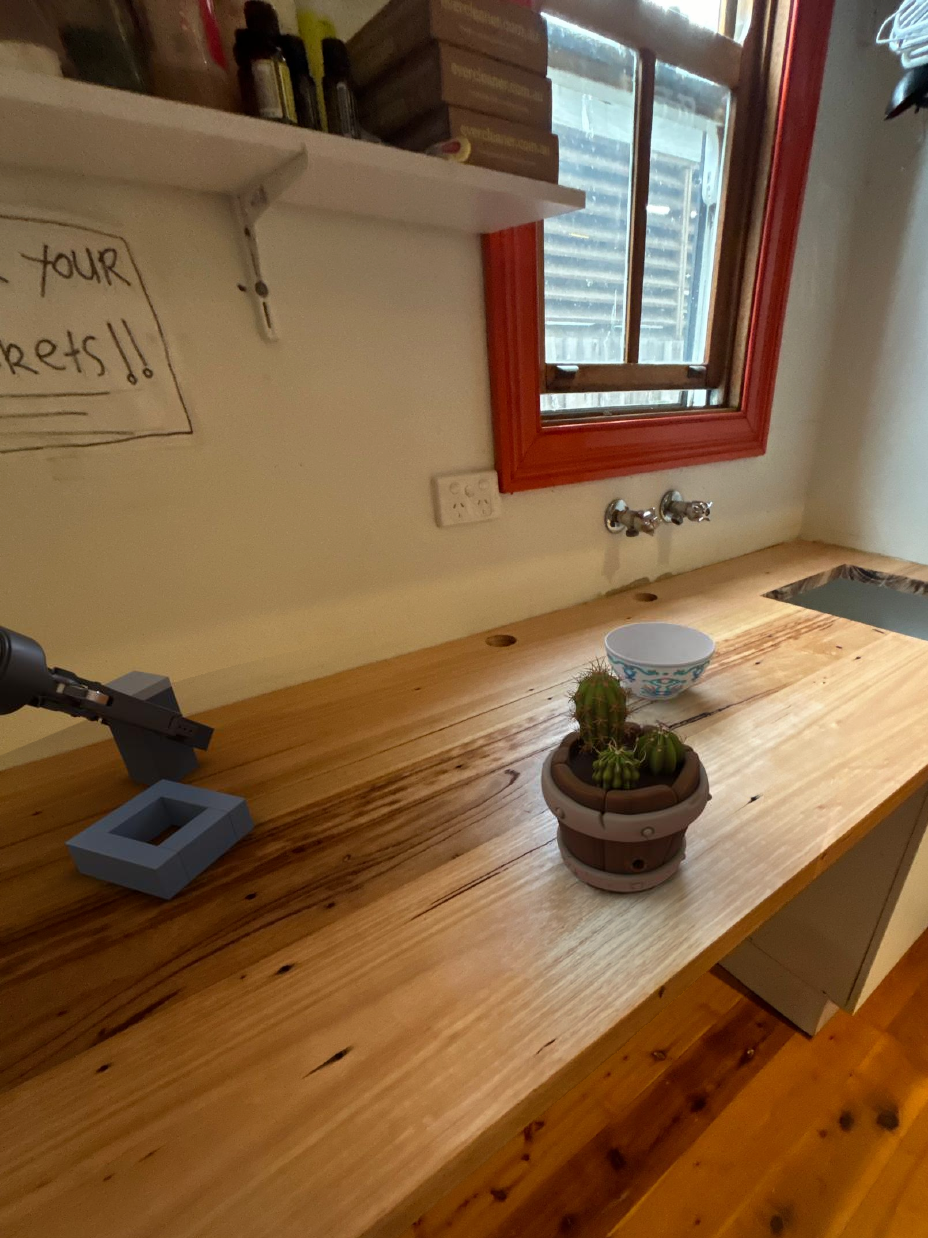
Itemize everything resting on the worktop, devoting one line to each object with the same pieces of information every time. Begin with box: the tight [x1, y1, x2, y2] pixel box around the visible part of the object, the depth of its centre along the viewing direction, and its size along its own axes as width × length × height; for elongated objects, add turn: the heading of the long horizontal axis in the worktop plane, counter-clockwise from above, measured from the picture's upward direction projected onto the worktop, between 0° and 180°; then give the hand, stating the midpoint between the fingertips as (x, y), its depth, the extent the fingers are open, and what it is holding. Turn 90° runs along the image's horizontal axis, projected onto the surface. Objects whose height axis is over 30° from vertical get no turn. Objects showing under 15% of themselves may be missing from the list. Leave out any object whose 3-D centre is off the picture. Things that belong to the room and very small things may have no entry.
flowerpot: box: [540, 654, 713, 895], centre depth 56 cm, size 14×15×20 cm
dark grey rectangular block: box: [103, 670, 201, 787], centre depth 71 cm, size 5×5×12 cm
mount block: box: [64, 779, 255, 900], centre depth 62 cm, size 11×11×4 cm
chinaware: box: [604, 621, 716, 701], centre depth 90 cm, size 15×15×8 cm
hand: (181, 733), depth 75 cm, fingers open, 7 cm apart
